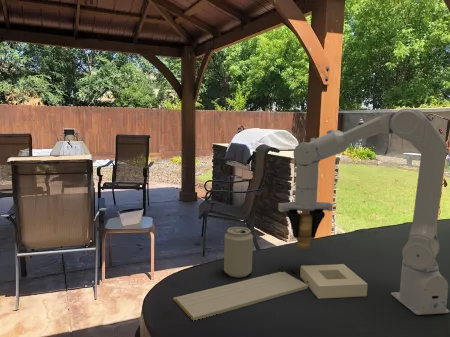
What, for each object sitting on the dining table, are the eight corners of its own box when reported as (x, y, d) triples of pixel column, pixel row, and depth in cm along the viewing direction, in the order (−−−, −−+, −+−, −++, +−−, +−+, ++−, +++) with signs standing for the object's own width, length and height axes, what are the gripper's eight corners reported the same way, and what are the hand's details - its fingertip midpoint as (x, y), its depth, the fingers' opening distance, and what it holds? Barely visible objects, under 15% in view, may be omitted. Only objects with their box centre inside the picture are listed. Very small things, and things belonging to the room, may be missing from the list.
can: (254, 278, 94) (256, 233, 93) (226, 279, 93) (227, 234, 91) (248, 266, 101) (249, 225, 100) (221, 267, 100) (222, 225, 99)
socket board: (366, 296, 86) (367, 284, 85) (318, 298, 84) (319, 286, 84) (342, 274, 97) (343, 264, 97) (300, 276, 96) (300, 265, 95)
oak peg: (313, 249, 97) (315, 216, 96) (298, 250, 97) (300, 217, 96) (307, 244, 101) (309, 212, 100) (293, 244, 101) (295, 213, 100)
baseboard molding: (170, 299, 83) (193, 324, 73) (171, 287, 83) (193, 311, 73) (277, 273, 99) (308, 291, 89) (277, 262, 99) (308, 279, 89)
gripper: (325, 184, 102) (323, 231, 104) (275, 184, 100) (273, 232, 101) (337, 189, 95) (334, 239, 97) (283, 189, 93) (281, 241, 95)
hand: (303, 236), depth 99 cm, fingers closed on oak peg, 4 cm apart
